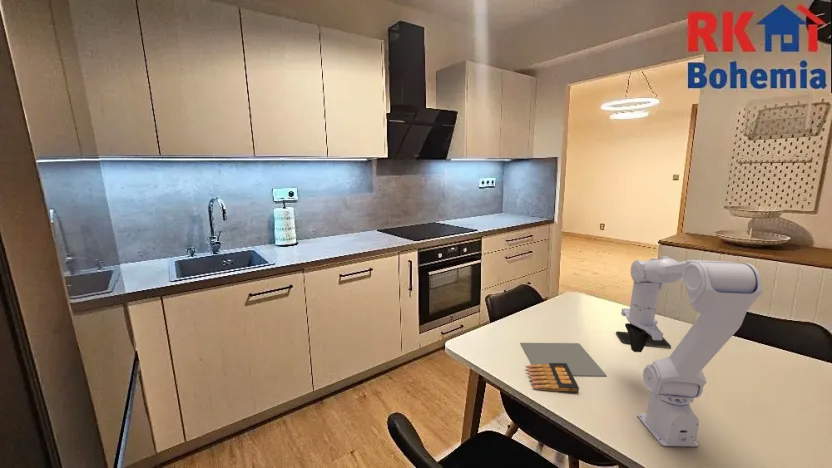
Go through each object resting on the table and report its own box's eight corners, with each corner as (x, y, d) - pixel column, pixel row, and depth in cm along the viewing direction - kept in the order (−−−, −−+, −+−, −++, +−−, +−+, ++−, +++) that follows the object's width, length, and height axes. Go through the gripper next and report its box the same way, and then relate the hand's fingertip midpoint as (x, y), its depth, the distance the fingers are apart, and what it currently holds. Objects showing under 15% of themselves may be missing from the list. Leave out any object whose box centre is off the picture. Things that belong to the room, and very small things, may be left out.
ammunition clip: (565, 368, 103) (524, 367, 104) (566, 362, 102) (524, 362, 103) (578, 393, 92) (532, 392, 94) (579, 387, 92) (532, 386, 93)
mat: (606, 376, 100) (606, 375, 100) (537, 375, 100) (537, 374, 100) (578, 343, 117) (579, 343, 117) (520, 343, 118) (520, 342, 118)
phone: (615, 331, 125) (661, 335, 121) (614, 333, 125) (661, 338, 122) (622, 342, 117) (672, 347, 114) (622, 345, 117) (672, 350, 114)
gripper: (678, 316, 84) (669, 366, 87) (641, 294, 98) (635, 337, 101) (649, 316, 84) (641, 366, 87) (616, 294, 98) (610, 337, 101)
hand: (636, 350), depth 94 cm, fingers closed
